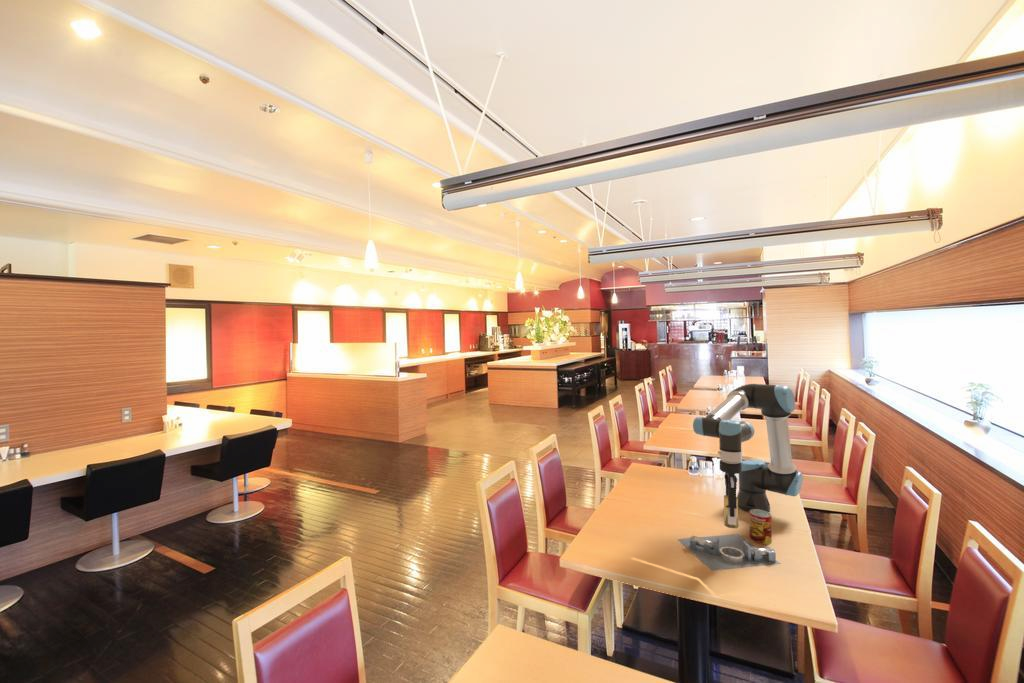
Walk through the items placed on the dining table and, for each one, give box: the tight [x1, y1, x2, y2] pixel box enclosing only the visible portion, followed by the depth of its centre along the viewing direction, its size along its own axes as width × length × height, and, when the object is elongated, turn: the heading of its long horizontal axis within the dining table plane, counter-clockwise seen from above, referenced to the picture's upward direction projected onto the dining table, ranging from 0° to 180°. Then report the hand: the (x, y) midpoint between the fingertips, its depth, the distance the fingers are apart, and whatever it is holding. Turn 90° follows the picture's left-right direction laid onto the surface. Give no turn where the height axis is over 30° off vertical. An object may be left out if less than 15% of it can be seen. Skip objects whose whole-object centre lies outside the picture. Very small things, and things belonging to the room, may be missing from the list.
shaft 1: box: [689, 535, 719, 556], centre depth 166 cm, size 10×5×5 cm, turn 53°
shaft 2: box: [743, 541, 777, 562], centre depth 159 cm, size 10×5×5 cm, turn 83°
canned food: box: [749, 509, 773, 545], centre depth 174 cm, size 8×8×12 cm
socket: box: [720, 547, 745, 563], centre depth 160 cm, size 8×8×2 cm
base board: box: [677, 533, 782, 572], centre depth 165 cm, size 28×24×1 cm
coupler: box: [723, 494, 739, 529], centre depth 160 cm, size 5×5×11 cm
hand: (731, 521), depth 160 cm, fingers closed on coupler, 5 cm apart
